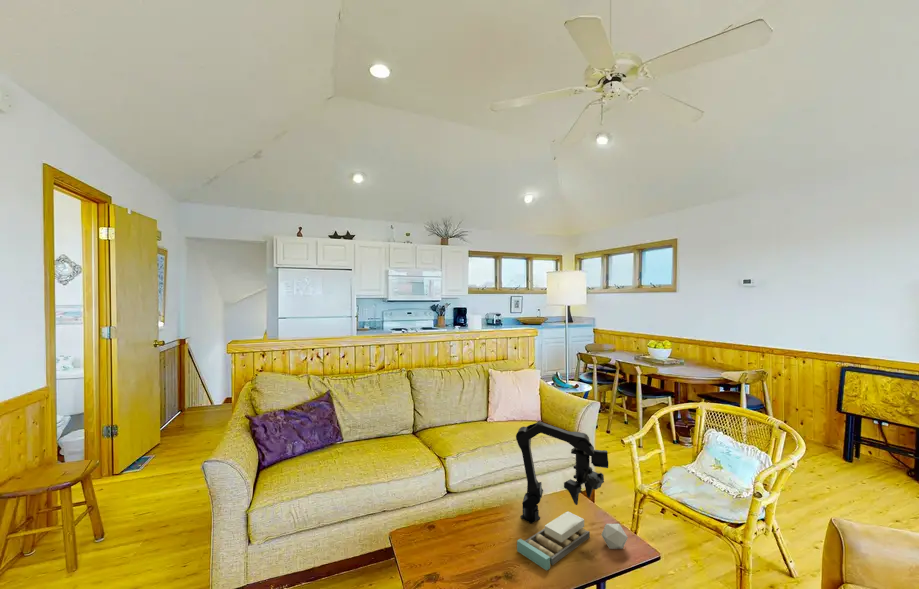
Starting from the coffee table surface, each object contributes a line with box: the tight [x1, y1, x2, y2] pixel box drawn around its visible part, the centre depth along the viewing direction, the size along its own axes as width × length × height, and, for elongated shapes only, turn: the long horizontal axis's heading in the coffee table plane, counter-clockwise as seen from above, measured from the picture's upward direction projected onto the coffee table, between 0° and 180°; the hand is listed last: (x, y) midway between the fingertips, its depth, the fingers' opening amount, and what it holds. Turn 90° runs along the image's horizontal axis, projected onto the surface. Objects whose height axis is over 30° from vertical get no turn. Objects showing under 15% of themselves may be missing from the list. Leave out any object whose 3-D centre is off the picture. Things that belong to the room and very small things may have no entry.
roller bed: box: [524, 527, 591, 566], centre depth 153 cm, size 13×25×3 cm, turn 130°
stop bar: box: [516, 538, 551, 572], centre depth 143 cm, size 14×2×4 cm, turn 40°
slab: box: [544, 511, 585, 543], centre depth 156 cm, size 8×16×3 cm, turn 130°
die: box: [600, 523, 629, 550], centre depth 151 cm, size 8×9×10 cm
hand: (582, 501), depth 163 cm, fingers open, 9 cm apart
